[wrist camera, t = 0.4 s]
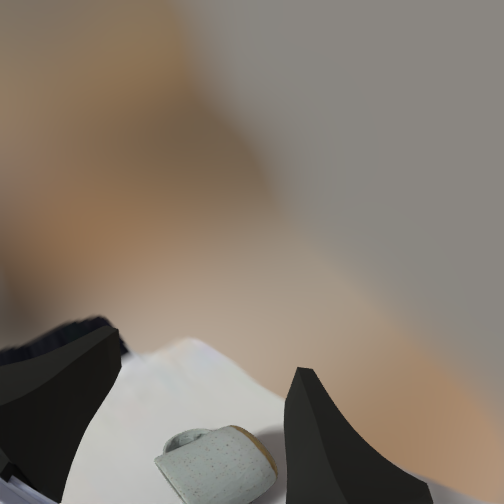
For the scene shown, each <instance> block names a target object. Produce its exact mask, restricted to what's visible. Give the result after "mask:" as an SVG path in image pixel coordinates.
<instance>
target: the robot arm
mask: <svg viewBox="0 0 504 504" xmlns="http://www.w3.org/2000/svg"><path fill="white" fill-rule="evenodd" d="M121 367H122V365H121V355H120V344H119V330H118V329H116V328H112V327H109V326H103V327H101V328H99V329H97V330H95V331H93V332H91V333H89V334H87V335H85V336H83V337H81V338H79V339H77V340H75V341H73V342H71V343H69V344H67V345H65V346H63V347H61V348H58V349H56V350H54V351H51V352H49V353H47V354H44V355H41V356H39V357H36V358H33V359H29V360H26V361H23V362H18V363H14V364H9V365H4V366H0V504H59V503H61V501H62V496H63V492H64V488H65V484H66V480H67V477H68V474H69V471H70V468H71V465H72V462H73V459H74V457H75V454H76V451H77V449H78V446H79V444H80V442H81V439H82V437H83V435H84V433H85V430H86V429H87V427H88V425H89V423H90V421H91V420H92V418H93V417H94V415H95V413H96V412H97V410H98V409H99V407H100V406H101V404H102V402H103V401H104V399H105V398H106V396H107V395H108V393H109V391H110V390H111V388H112V387H113V385H114V383H115V381H116V378H117V376H118V374H119V372H120V369H121ZM284 434H285V447H286V460H287V494H286V504H433V500H432V497H431V494H430V491H429V488H428V486H427V483H425V482H423V481H421V480H419V479H417V478H415V477H413V476H412V475H410V474H408V473H406V472H404V471H403V470H401V469H400V468H398V467H397V466H395V465H394V464H392V463H391V462H390V461H388V460H387V459H386V458H384V457H383V456H382V455H381V454H379V453H378V452H377V451H376V450H375V449H373V448H372V447H371V446H370V445H369V444H368V443H367V442H366V441H365V440H364V439H363V438H362V437H361V436H360V435H359V434H358V433H357V432H356V431H355V430H354V429H353V427H352V426H351V425H350V424H349V423H348V422H347V420H346V419H345V418H344V416H343V415H342V414H341V412H340V411H339V410H338V408H337V407H336V406H335V404H334V402H333V401H332V399H331V398H330V397H329V395H328V393H327V392H326V390H325V388H324V387H323V385H322V383H321V382H320V380H319V378H318V377H317V375H316V374H315V372H314V371H313V369H309V368H301V367H297V370H296V373H295V376H294V378H293V381H292V384H291V387H290V390H289V392H288V395H287V398H286V400H285V408H284Z"/></svg>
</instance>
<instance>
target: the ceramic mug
mask: <svg viewBox="0 0 504 504" xmlns="http://www.w3.org/2000/svg"><path fill="white" fill-rule="evenodd" d="M186 444H187V445H186ZM181 446H182V447H181ZM154 462H155V464H156V466H157V467H158V469H159V470H160V472H161V473H162V475H163V476H164V478H165V479H166V481H167V482H168V484H169V485H170V486H171V488H172V489H173V491H174V492H175V494H176V495H177V496H178V497H179V498H180V500H181V501H182V503H183V504H249V503H250V502H252V501H253V500H255V499H256V498H258V497H259V496H260V495H262V494H263V493H264V492H266V491H267V490H268V489H269V488H270V487H271V486H272V485H273V484H274V483H275V481H276V479H277V475H278V472H277V467H276V464H275V461H274V460H273V458H272V456H271V455H270V453H269V452H268V451H267V449H266V448H265V447H264V446H263V445H262V444H261V442H260V441H259V440H258V439H257V438H255V437H254V436H253V435H252V434H251V433H249V432H248V431H246V430H245V429H243V428H241V427H238V426H233V425H230V426H226V427H223V428H220V429H217V430H215V431H211V430H207V429H192V430H187V431H184V432H182V433H179V434H177V435H175V436H173V437H172V438H171V439H169V440H168V441H167V442H166V444H165V446H164V449H163V455H161V456H158V457H156V458H155V459H154Z"/></svg>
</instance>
